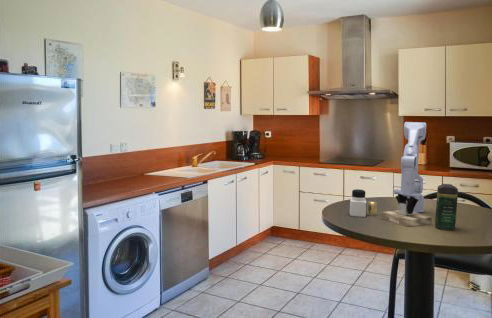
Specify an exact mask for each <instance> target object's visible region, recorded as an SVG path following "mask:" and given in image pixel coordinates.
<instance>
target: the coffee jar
mask: <svg viewBox="0 0 492 318" xmlns="http://www.w3.org/2000/svg"><path fill="white" fill-rule="evenodd" d="M436 188H437V189H436V190H437V191H436V204H435V206H436V207H435V217H434V225H435V227H436V228H437V229H442V230H445V231H449V230H450V231H451V230H455V229H456V223H457V222H456V221H457V211H458V210H457V208H458V199H459V197H458V196H459V195H458V194H459V192H458V191H459V189H458V188H457V186H454V185H453V184H451V183H442V184H440V185H438V186H437V187H436Z"/></svg>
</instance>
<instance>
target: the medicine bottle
mask: <svg viewBox="0 0 492 318" xmlns="http://www.w3.org/2000/svg"><path fill="white" fill-rule="evenodd" d="M349 201H350V203H349V216H350V217H359V218H360V217H362V218H366V217H367V207H368V201H367V200H366V190H364V189H362V188H361V189H358V188H357V189H353V190H352V191H351V198H350V200H349Z"/></svg>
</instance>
